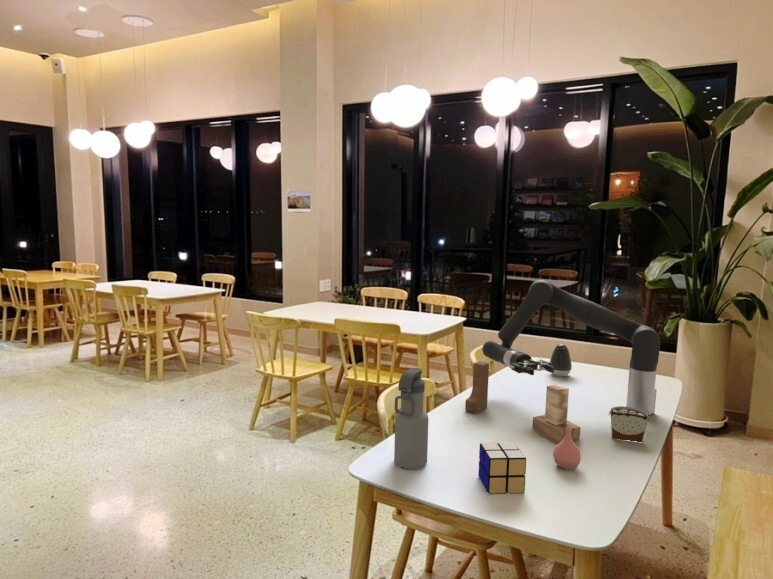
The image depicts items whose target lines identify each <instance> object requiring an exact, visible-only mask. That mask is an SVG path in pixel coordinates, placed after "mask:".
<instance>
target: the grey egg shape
mask: <svg viewBox="0 0 773 579" xmlns="http://www.w3.org/2000/svg"><path fill="white" fill-rule="evenodd" d="M549 362H550V363H551V366H552V367H554V373H551V374H553V375H554V376H556V377H561V378H562V377H567V376H568V375H570V373H571V370H572V368H573V367H572V358H571V355H570V351H569V349H568V347H567V345H565V344H562V343H558V344H557V345H556V346H555V347H554V349H553V351H552V353H551V356H550V359H549Z"/></svg>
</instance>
